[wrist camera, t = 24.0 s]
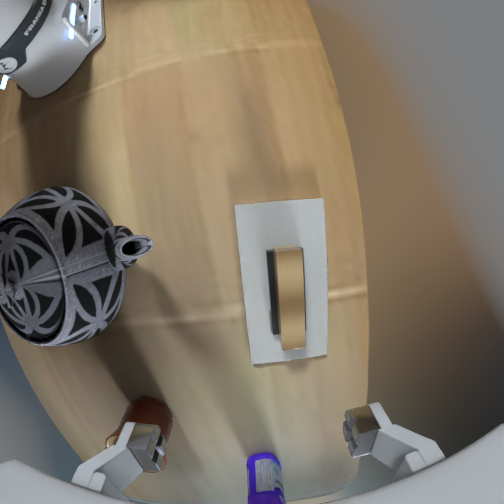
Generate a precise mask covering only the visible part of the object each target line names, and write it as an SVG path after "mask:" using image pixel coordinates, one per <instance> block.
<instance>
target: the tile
mask: <svg viewBox="0 0 504 504" xmlns="http://www.w3.org/2000/svg"><path fill="white" fill-rule="evenodd" d="M234 208H235V218H236V228H237V238H238V248H239V257H240V267H241V276H242V285H243V295H244V304H245V313H246V322H247V330H248V339H249V348H250V356H251V364H260V363H269V362H278V361H287V360H294V359H302V358H308V357H315V356H321V355H327V335H328V278H327V247H326V227H325V211H324V199H323V198H314V199H299V200H286V201H273V202H262V203H251V204H240V205H234ZM286 245H298V246H299V247H302V248H303V254H304V274H305V300H306V331H305V340H306V348H300V349H293V350H285V351H282V348H281V343H280V339H279V334H278V335H273V333H272V323H271V310H270V297H269V284H268V271H267V259H266V250H270V249H273V247H275V246H286Z"/></svg>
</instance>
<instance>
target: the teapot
mask: <svg viewBox="0 0 504 504" xmlns="http://www.w3.org/2000/svg"><path fill="white" fill-rule="evenodd" d="M152 248H153V241H152V239H151V238H149V237H147V236H142V235H135V236H134V235H133V233H132V232H131V231H130V230H129V229H128V228H127V227H124V226H114V225H113V223H112V221H111V220H110V218H109V217H108V215H107V214H106V213H105V211H104V210H103V209H102V208H101V207H100V205H99V204H98V203H97V202H96V201H94V200H93V199H92V198H91V197H89V196H88V195H86V194H85V193H83V192H81V191H79V190H76V189H73V188H70V187H61V186H58V187H49V188H45V189H42V190H39V191H36V192H34V193H32V194H30V195H28V196H27V197H25V198H24V199H22V200H21V201H19V202H18V203H17V204H16V205H15V206H13V207H12V208H11V209H10V210H9V211H8V212H7V213H6V214H5V215H4V216H3V217H2V218H1V219H0V315H1V316H2V318H3V319H4V321H5V322H6V323H7V325H8V326H9V327H10V328H11V329H12V330H13V331H14V332H15V333H16V334H17V335H18V336H19V337H21V338H22V339H24V340H25V341H27V342H29V343H32V344H34V345H38V346H59V345H69V344H74V343H78V342H82V341H84V340H87V339H90V338H92V337H93V336H95V335H97V334H99V333H100V332H101V331H103V330H104V329H105V328H106V327H107V326H108V325H109V324H110V323H111V322H112V320H113V319H114V317H115V316H116V314H117V312H118V310H119V308H120V305H121V303H122V299H123V296H124V290H125V282H126V268H128V267H130V266H132V265H133V264H135V262H136V260H137V258H140V257H142V256H144V255H146V254H147V253H149V252H150V251H151V249H152Z"/></svg>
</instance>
